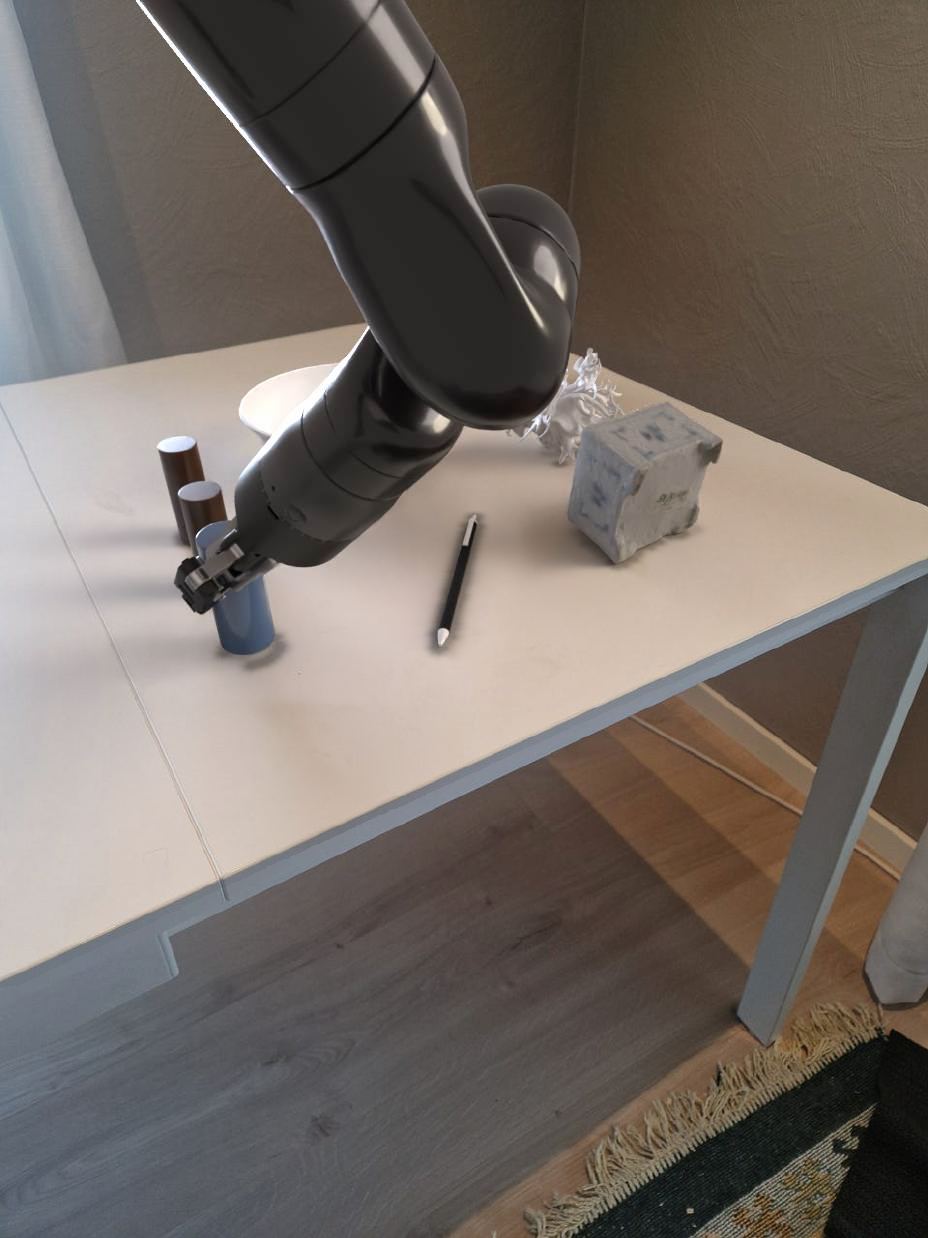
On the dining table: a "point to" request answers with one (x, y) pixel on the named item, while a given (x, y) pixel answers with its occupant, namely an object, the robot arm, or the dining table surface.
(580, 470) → the incense holder
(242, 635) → the cylinder
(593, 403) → the figurine
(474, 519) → the pen
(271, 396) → the bowl
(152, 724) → the dining table surface
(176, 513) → the pegs
